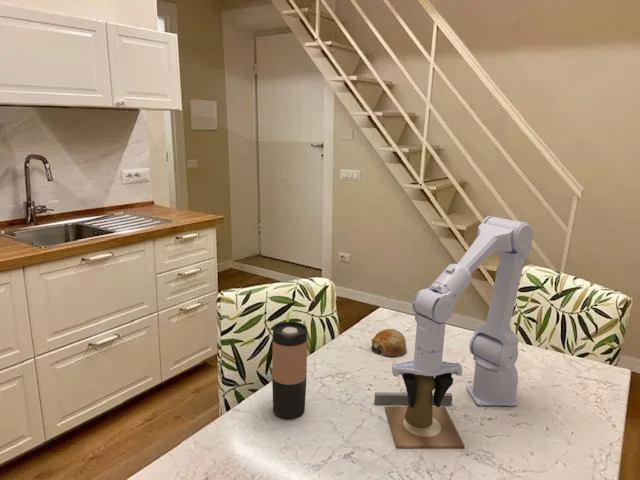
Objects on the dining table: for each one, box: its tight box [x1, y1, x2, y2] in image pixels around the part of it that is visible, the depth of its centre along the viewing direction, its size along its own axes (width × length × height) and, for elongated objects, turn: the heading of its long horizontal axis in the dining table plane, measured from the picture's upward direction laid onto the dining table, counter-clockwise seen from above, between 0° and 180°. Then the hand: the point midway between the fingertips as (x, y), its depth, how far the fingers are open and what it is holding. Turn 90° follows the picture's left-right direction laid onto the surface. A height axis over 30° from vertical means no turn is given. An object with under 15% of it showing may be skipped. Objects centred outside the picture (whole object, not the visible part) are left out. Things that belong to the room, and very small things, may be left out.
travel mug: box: [271, 321, 308, 420], centre depth 105 cm, size 8×8×20 cm
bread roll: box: [371, 328, 408, 358], centre depth 138 cm, size 10×10×8 cm
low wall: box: [374, 391, 453, 406], centre depth 111 cm, size 18×1×2 cm, turn 92°
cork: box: [405, 375, 436, 428], centre depth 102 cm, size 6×6×11 cm
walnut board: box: [384, 405, 466, 449], centre depth 102 cm, size 14×14×1 cm
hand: (423, 404), depth 101 cm, fingers closed on cork, 5 cm apart
